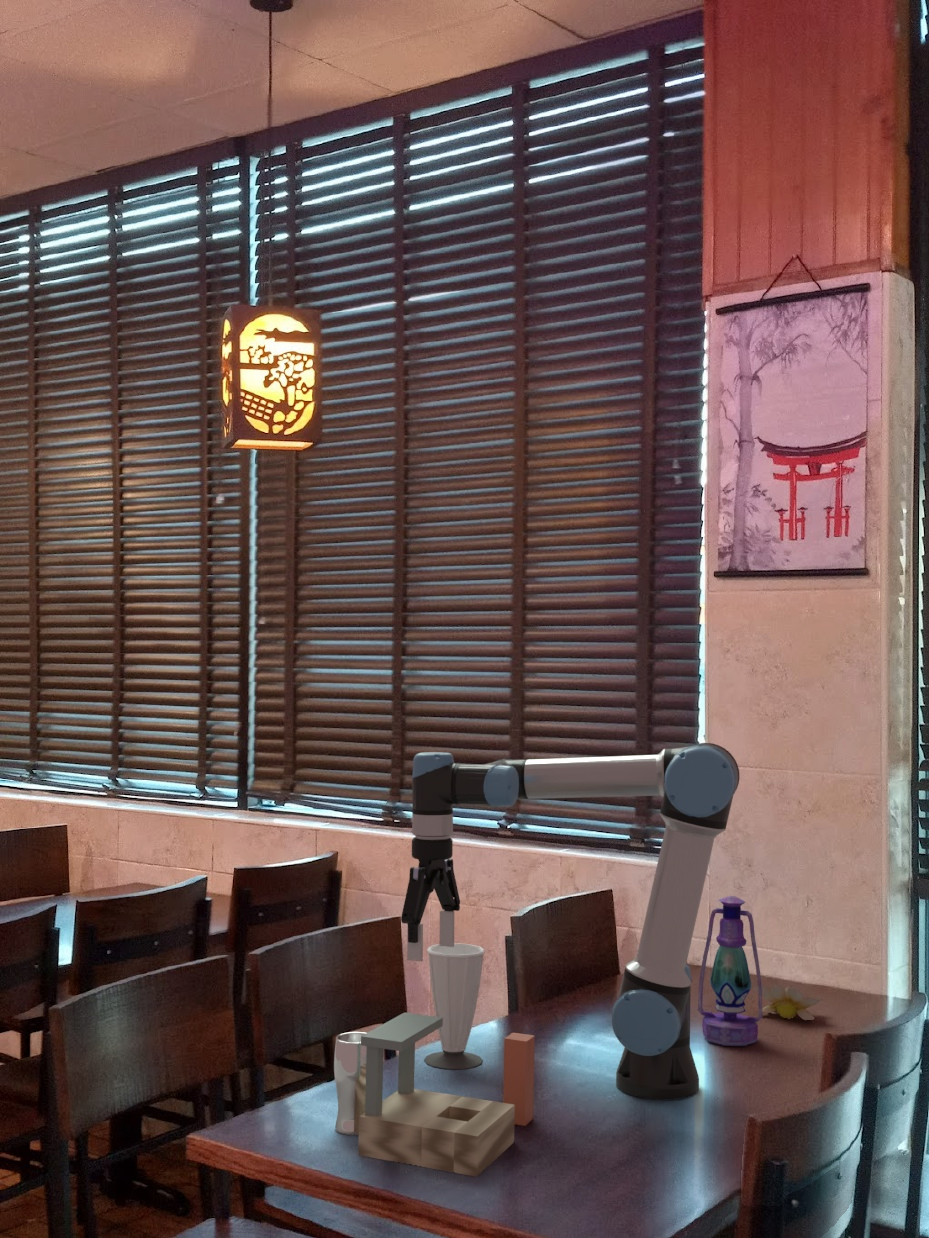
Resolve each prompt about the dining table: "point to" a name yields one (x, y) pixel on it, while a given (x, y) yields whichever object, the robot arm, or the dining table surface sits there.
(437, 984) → the cup
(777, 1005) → the decorative flower
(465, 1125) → the socket block
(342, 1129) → the beer glass
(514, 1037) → the peg
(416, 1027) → the grey toy table
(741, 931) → the lantern
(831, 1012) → the dining table surface
